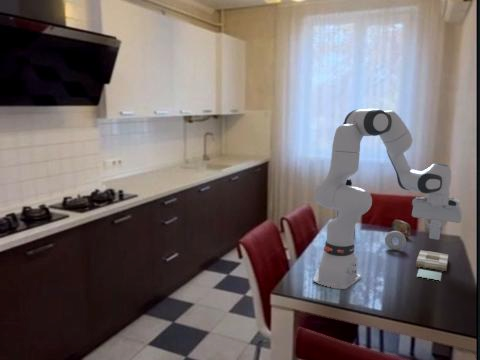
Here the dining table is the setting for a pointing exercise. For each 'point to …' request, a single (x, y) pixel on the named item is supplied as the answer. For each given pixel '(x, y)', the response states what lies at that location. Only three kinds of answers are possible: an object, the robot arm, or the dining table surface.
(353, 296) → the dining table surface
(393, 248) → the donut
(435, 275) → the green pad
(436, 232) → the aluminium block
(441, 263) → the frame
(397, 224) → the tin
